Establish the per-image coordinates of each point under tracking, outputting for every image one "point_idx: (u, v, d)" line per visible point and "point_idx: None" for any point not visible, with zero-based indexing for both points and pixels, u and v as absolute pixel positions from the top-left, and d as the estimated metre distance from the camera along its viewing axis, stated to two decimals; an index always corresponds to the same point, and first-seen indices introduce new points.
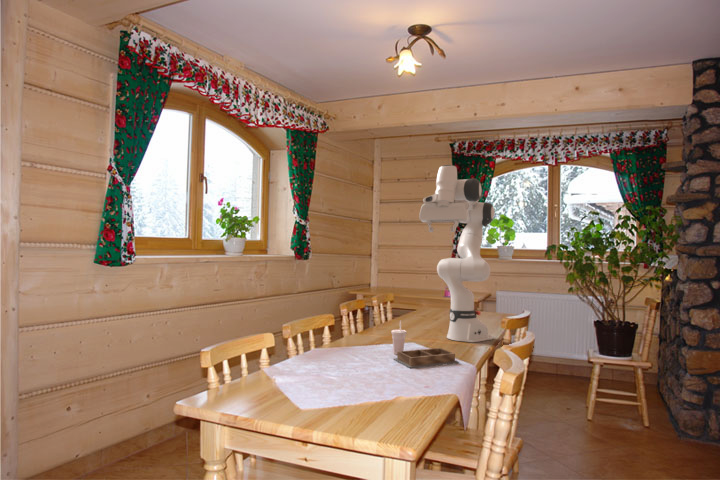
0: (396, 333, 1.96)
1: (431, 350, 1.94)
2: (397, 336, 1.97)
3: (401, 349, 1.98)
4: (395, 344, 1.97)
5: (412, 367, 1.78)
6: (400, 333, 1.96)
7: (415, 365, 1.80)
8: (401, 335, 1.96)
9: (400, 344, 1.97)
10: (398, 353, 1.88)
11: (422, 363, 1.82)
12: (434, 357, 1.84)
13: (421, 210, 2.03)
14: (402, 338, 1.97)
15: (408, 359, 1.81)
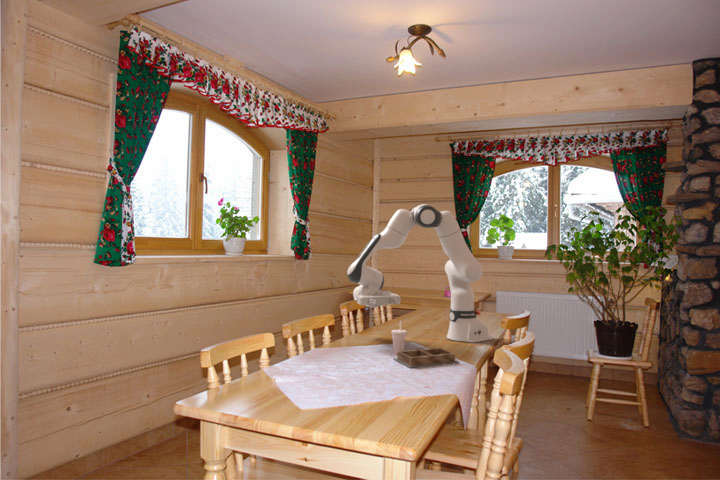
0: (396, 333, 1.96)
1: (431, 350, 1.94)
2: (397, 336, 1.97)
3: (401, 349, 1.98)
4: (395, 344, 1.97)
5: (412, 367, 1.78)
6: (400, 333, 1.96)
7: (415, 365, 1.80)
8: (401, 335, 1.96)
9: (400, 344, 1.97)
10: (398, 353, 1.88)
11: (422, 363, 1.82)
12: (434, 357, 1.84)
13: None
14: (402, 338, 1.97)
15: (408, 359, 1.81)
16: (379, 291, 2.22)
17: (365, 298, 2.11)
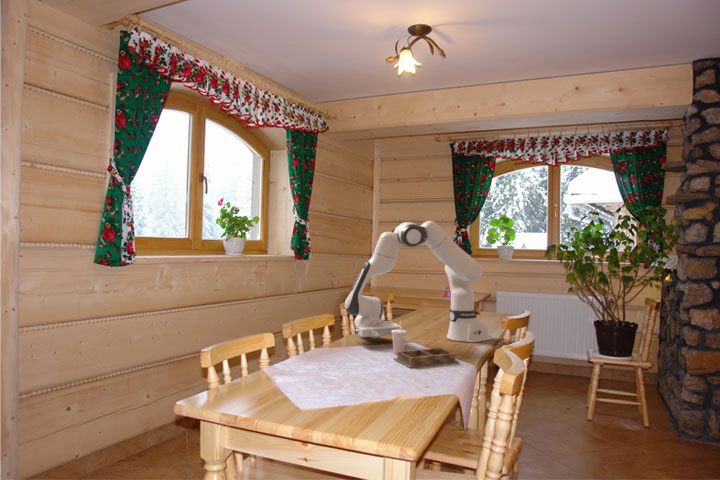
0: (396, 333, 1.96)
1: (431, 350, 1.94)
2: (397, 336, 1.97)
3: (401, 349, 1.98)
4: (395, 344, 1.97)
5: (412, 367, 1.78)
6: (400, 333, 1.96)
7: (415, 365, 1.80)
8: (401, 335, 1.96)
9: (400, 344, 1.97)
10: (398, 353, 1.88)
11: (422, 363, 1.82)
12: (434, 357, 1.84)
13: None
14: (402, 338, 1.97)
15: (408, 359, 1.81)
16: (381, 321, 2.20)
17: (367, 330, 2.09)
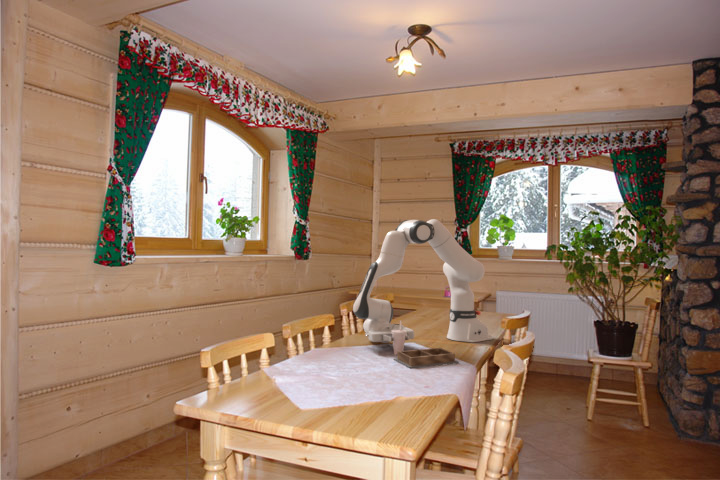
0: (396, 333, 1.96)
1: (431, 350, 1.94)
2: (397, 336, 1.97)
3: (401, 349, 1.98)
4: (395, 344, 1.97)
5: (412, 367, 1.78)
6: (400, 333, 1.96)
7: (415, 365, 1.80)
8: (401, 335, 1.96)
9: (400, 344, 1.97)
10: (398, 353, 1.88)
11: (422, 363, 1.82)
12: (434, 357, 1.84)
13: None
14: (402, 338, 1.97)
15: (408, 359, 1.81)
16: (391, 325, 2.11)
17: (377, 335, 2.00)
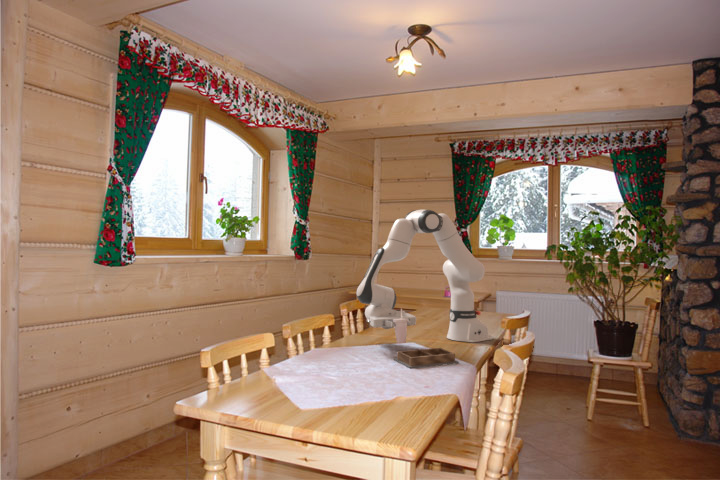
0: (398, 320, 1.95)
1: (431, 350, 1.94)
2: (399, 323, 1.95)
3: (404, 337, 1.96)
4: (397, 332, 1.96)
5: (412, 367, 1.78)
6: (402, 320, 1.95)
7: (415, 365, 1.80)
8: (403, 322, 1.95)
9: (402, 331, 1.95)
10: (398, 353, 1.88)
11: (422, 363, 1.82)
12: (434, 357, 1.84)
13: None
14: (404, 325, 1.96)
15: (408, 359, 1.81)
16: (393, 311, 2.09)
17: (379, 320, 1.98)
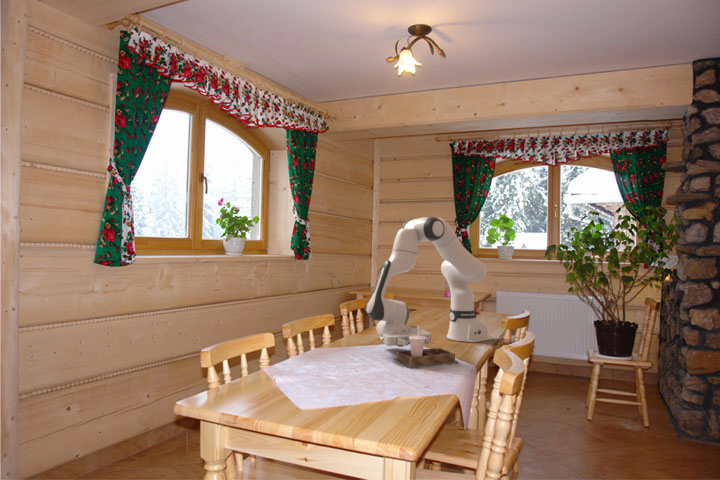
0: (414, 340, 1.82)
1: (431, 350, 1.94)
2: (416, 343, 1.83)
3: None
4: (413, 351, 1.84)
5: (412, 367, 1.78)
6: (419, 339, 1.82)
7: (415, 365, 1.80)
8: (420, 342, 1.83)
9: (419, 351, 1.83)
10: (398, 353, 1.88)
11: (422, 363, 1.82)
12: (434, 357, 1.84)
13: None
14: (421, 345, 1.83)
15: (408, 359, 1.81)
16: (407, 328, 1.98)
17: (393, 338, 1.87)
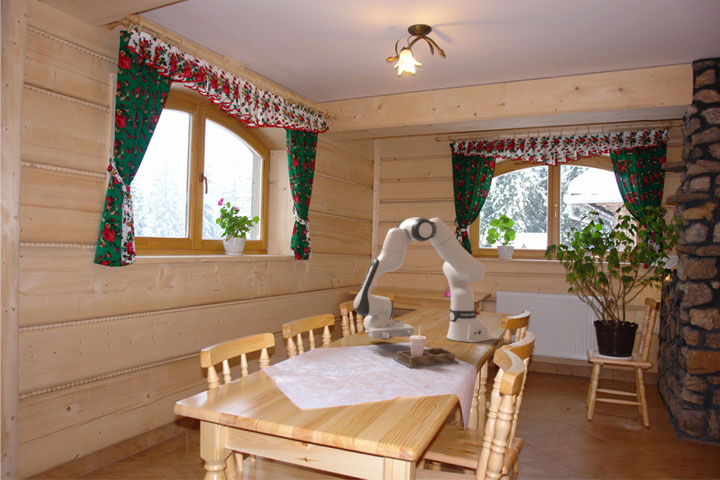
0: (416, 340, 1.82)
1: (431, 350, 1.94)
2: (416, 343, 1.82)
3: None
4: (414, 351, 1.83)
5: (412, 367, 1.78)
6: (420, 340, 1.82)
7: (415, 365, 1.80)
8: (421, 342, 1.82)
9: (419, 351, 1.83)
10: (398, 353, 1.88)
11: (422, 363, 1.82)
12: (434, 357, 1.84)
13: None
14: (422, 345, 1.83)
15: (408, 359, 1.81)
16: (391, 322, 2.11)
17: (377, 331, 1.99)
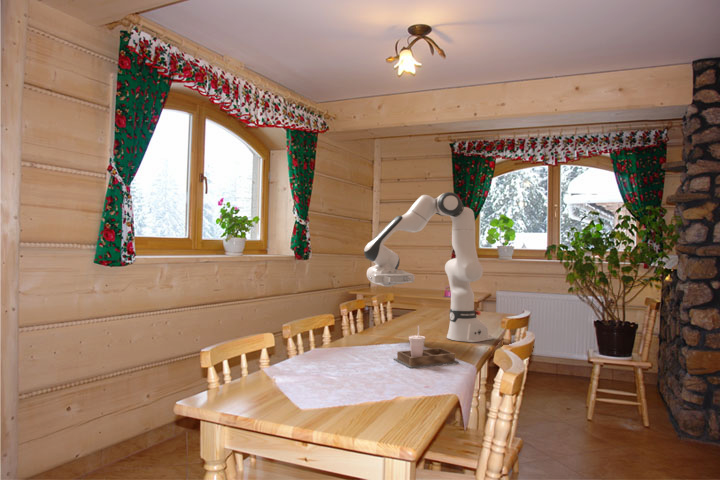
0: (415, 339, 1.83)
1: (431, 350, 1.94)
2: (416, 343, 1.83)
3: None
4: (414, 351, 1.84)
5: (412, 367, 1.78)
6: (419, 339, 1.82)
7: (415, 365, 1.80)
8: (420, 341, 1.83)
9: (419, 351, 1.83)
10: (398, 353, 1.88)
11: (422, 363, 1.82)
12: (434, 357, 1.84)
13: (408, 282, 2.22)
14: (421, 345, 1.83)
15: (408, 359, 1.81)
16: (393, 270, 2.23)
17: (380, 276, 2.12)
